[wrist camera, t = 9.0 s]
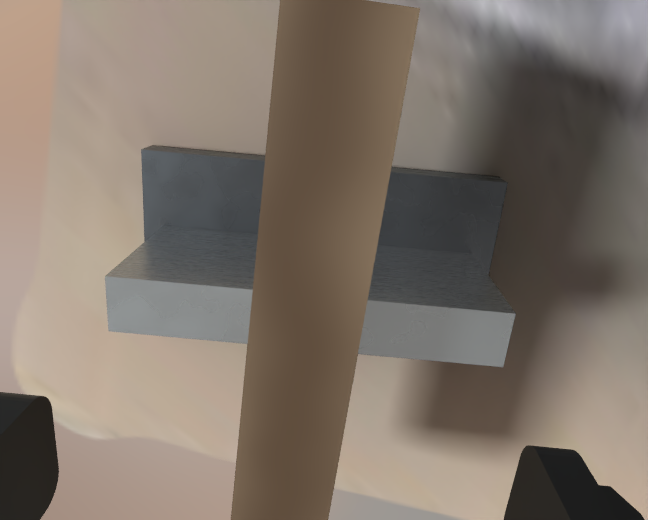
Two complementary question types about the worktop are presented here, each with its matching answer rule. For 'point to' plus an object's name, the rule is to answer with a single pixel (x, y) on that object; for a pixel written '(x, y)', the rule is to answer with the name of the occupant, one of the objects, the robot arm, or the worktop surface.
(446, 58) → the worktop surface
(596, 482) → the robot arm
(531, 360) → the worktop surface
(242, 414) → the walnut beam
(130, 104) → the worktop surface
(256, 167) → the stand
